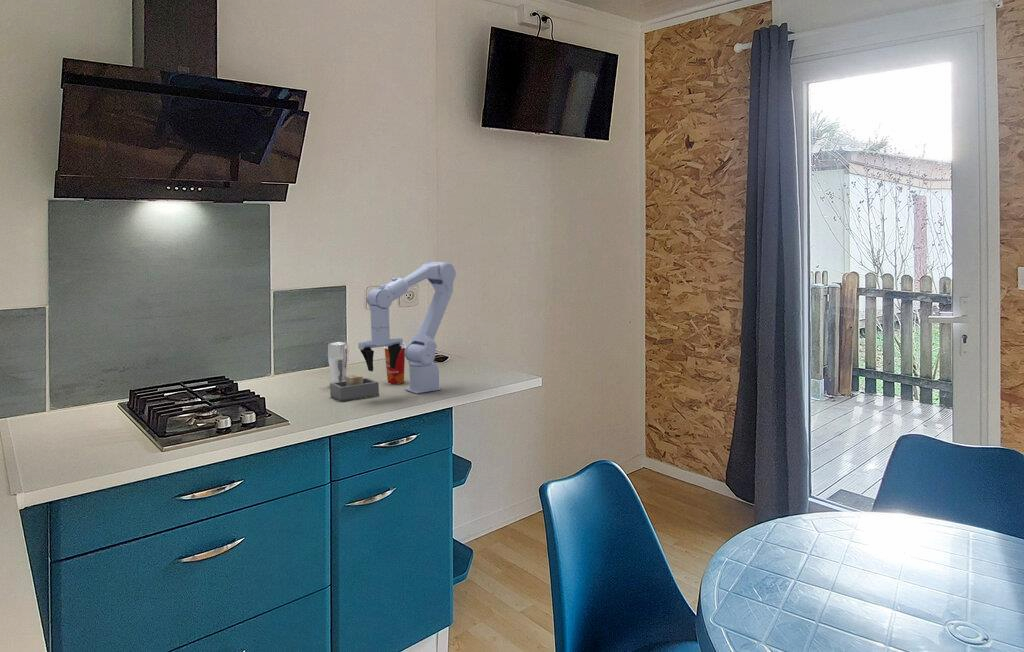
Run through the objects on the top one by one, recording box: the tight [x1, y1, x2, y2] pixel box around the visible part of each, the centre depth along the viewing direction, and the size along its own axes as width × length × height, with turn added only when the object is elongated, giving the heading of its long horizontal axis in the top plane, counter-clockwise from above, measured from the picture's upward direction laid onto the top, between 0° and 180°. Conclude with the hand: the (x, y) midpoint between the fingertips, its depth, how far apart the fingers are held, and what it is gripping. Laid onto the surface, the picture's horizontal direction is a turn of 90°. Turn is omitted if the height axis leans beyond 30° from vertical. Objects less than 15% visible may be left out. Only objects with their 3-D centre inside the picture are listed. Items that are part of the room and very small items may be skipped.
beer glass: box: [327, 341, 350, 383], centre depth 236 cm, size 7×7×15 cm
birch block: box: [346, 374, 364, 386], centre depth 222 cm, size 4×4×6 cm
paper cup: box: [383, 342, 407, 385], centre depth 241 cm, size 8×8×14 cm
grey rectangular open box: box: [329, 377, 380, 403], centre depth 222 cm, size 13×8×4 cm, turn 126°
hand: (381, 369), depth 218 cm, fingers open, 7 cm apart
